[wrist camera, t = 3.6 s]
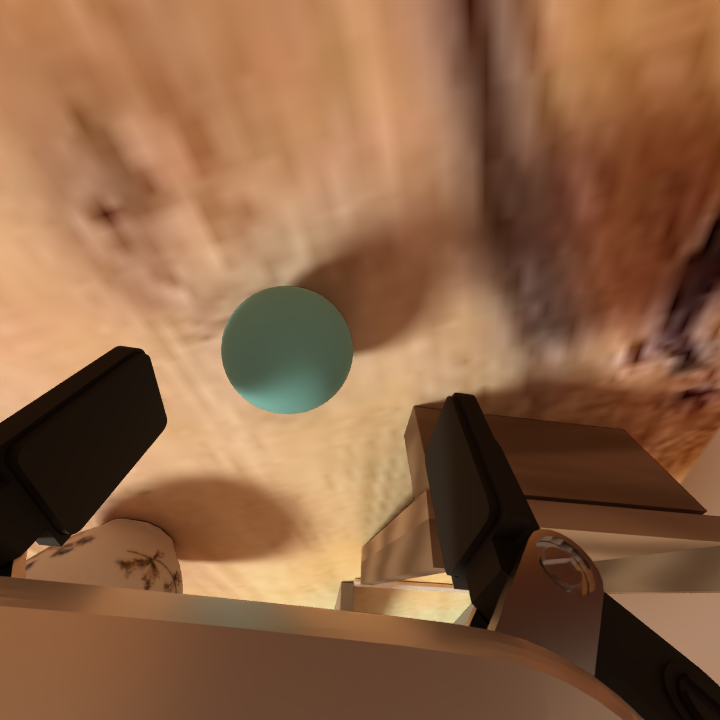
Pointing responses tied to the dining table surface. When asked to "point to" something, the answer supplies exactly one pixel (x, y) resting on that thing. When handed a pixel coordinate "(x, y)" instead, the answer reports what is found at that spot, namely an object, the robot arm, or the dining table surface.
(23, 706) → the robot arm
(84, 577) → the teacup
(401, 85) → the dining table surface
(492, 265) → the dining table surface
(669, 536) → the walnut ramp
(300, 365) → the teal rubber ball
